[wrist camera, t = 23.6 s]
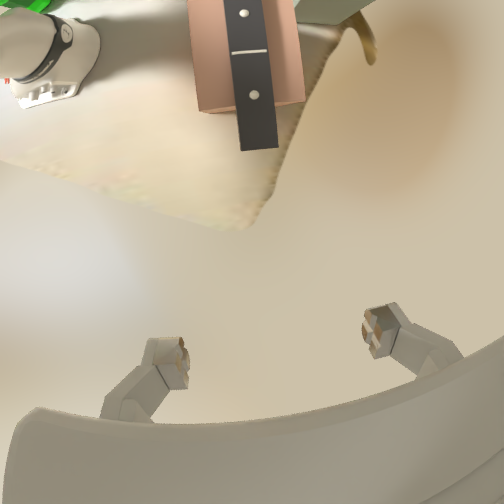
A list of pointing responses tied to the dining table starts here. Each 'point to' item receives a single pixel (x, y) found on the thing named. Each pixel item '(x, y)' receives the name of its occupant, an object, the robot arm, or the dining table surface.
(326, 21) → the pedestal
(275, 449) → the robot arm
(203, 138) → the dining table surface
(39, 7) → the plastic bottle
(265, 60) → the domino
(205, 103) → the pinkish tan cardboard cube
